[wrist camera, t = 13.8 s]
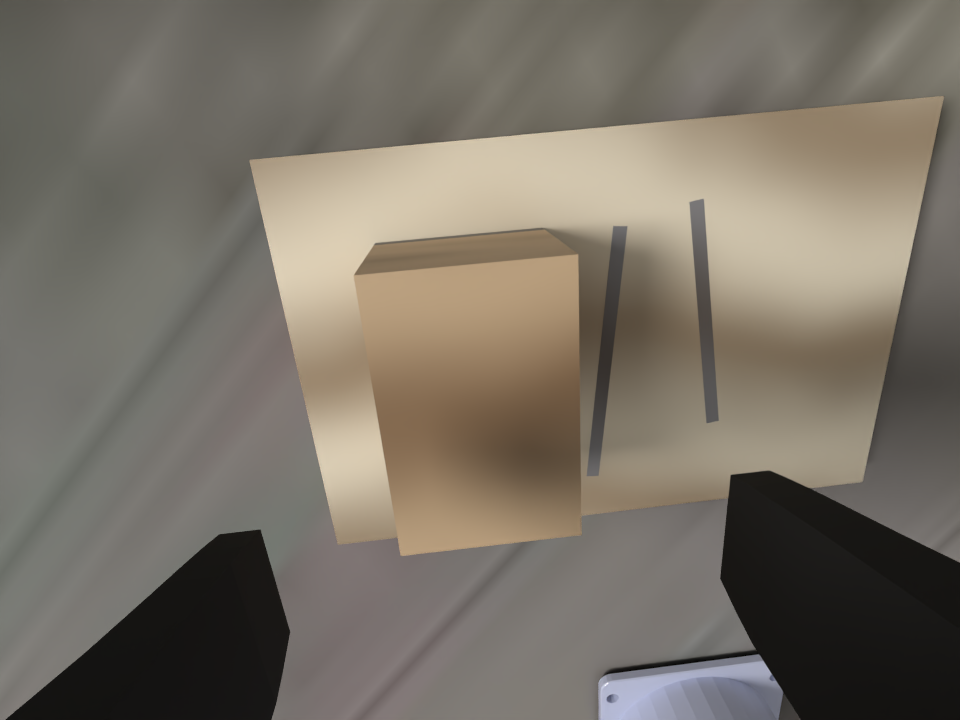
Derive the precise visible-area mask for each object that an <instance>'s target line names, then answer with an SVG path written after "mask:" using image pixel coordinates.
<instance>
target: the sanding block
mask: <svg viewBox="0 0 960 720" xmlns="http://www.w3.org/2000/svg"><path fill="white" fill-rule="evenodd" d="M353 276H354V282H355V287H356V293H357V299H358V305H359V311H360V317H361V323H362V329H363V335H364V341H365V347H366V353H367V358H368V364H369V370H370V376H371V382H372V388H373V394H374V400H375V406H376V412H377V418H378V423H379V429H380V435H381V441H382V447H383V453H384V459H385V465H386V471H387V477H388V483H389V489H390V494H391V500H392V506H393V512H394V518H395V524H396V530H397V536H398V542H399V548H400V554H401V556H404V555H413V554H422V553H430V552H439V551H448V550H456V549H465V548H473V547H482V546H491V545H499V544H508V543H517V542H525V541H534V540H543V539H551V538H560V537H569V536H577V535H582V530H581V444H580V358H579V272H578V254H577V253H576V252H575V251H573V250H572V249H570V248H569V247H568V246H566V245H565V244H564V243H562V242H561V241H560V240H558V239H557V238H556V237H554V236H553V235H551V234H550V233H549V232H547V231H546V230H545V229H543V228H532V229H522V230H511V231H500V232H489V233H478V234H467V235H456V236H446V237H435V238H424V239H413V240H402V241H391V242H380V243H375V244H374V246H373V247H372V249H371V250H370V252H369V253H368V255H367V256H366V258H365V259H364V261H363V262H362V263H361V265H360V266H359V268H358V269H357V271H356V272H355V274H354V275H353Z"/></svg>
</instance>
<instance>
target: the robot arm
mask: <svg viewBox="0 0 960 720" xmlns="http://www.w3.org/2000/svg"><path fill="white" fill-rule="evenodd" d="M720 579H721V581H722V583H723V585H724V587H725V589H726V592H727V594H728V596H729V598H730V600H731V602H732V604H733V606H734V608H735V610H736V613H737V615H738V616H739V618H740V620H741V622H742V624H743V626H744V628H745V630H746V632H747V634H748V636H749V638H750V640H751V642H752V644H753V645H754V647H755V648H756V650H757V652H758V653H759V654H757V655H749V656H742V657H734V658H727V659H719V660H711V661H704V662H696V663H688V664H681V665H673V666H666V667H658V668H650V669H643V670H635V671H627V672H620V673H612V674H607V675H605V676H603V677H602V678H601V679H600V680H599V684H598V697H599V720H778V719H779V714H780V708H781V702H782V697H783V692H784V694H785V695H786V697H787V699H788V700H789V702H790V703H791V705H792V706H793V708H794V709H795V711H796V712H797V714H798V715H799V717H800V718H801V720H960V563H959V562H957V561H955V560H953V559H951V558H949V557H947V556H945V555H943V554H941V553H938V552H936V551H934V550H932V549H930V548H928V547H926V546H924V545H922V544H920V543H918V542H916V541H914V540H912V539H910V538H908V537H906V536H904V535H902V534H900V533H898V532H896V531H894V530H892V529H890V528H888V527H886V526H884V525H882V524H880V523H878V522H876V521H874V520H872V519H870V518H868V517H866V516H864V515H862V514H860V513H858V512H856V511H854V510H852V509H850V508H848V507H846V506H844V505H842V504H840V503H838V502H836V501H834V500H832V499H830V498H828V497H826V496H824V495H822V494H820V493H818V492H816V491H814V490H812V489H810V488H808V487H805V486H803V485H801V484H799V483H797V482H795V481H793V480H791V479H788V478H786V477H784V476H782V475H779V474H777V473H775V472H772V471H770V470H768V471H759V472H750V473H742V474H733V475H731V476H730V486H729V496H728V506H727V516H726V526H725V536H724V547H723V557H722V567H721V577H720ZM289 635H290V630H289V627H288V623H287V620H286V616H285V613H284V609H283V606H282V602H281V599H280V596H279V592H278V589H277V585H276V582H275V578H274V575H273V571H272V568H271V565H270V561H269V558H268V554H267V551H266V547H265V544H264V540H263V537H262V534H261V530H253V531H244V532H236V533H227V534H219V535H218V536H217V537H216V538H214V539H213V540H212V541H211V542H209V543H208V544H207V545H206V546H205V547H203V548H202V549H201V550H200V551H199V552H198V553H196V554H195V555H194V556H193V557H192V558H191V559H190V560H188V561H187V562H186V563H185V564H184V565H183V566H182V567H181V568H179V569H178V570H177V571H176V572H175V573H174V574H173V575H172V576H171V577H169V578H168V579H167V580H166V581H165V582H164V583H163V584H162V585H161V586H160V587H158V588H157V589H156V590H155V591H154V592H153V593H152V594H151V595H150V596H148V597H147V598H146V599H145V600H144V601H143V602H142V603H141V604H139V605H138V606H137V607H136V608H135V609H134V610H133V611H132V612H130V613H129V614H128V615H127V616H126V617H125V618H124V619H123V620H122V621H120V622H119V623H118V624H117V625H116V626H115V627H114V628H113V629H111V630H110V631H109V632H108V633H107V634H106V635H105V636H104V637H102V638H101V639H100V640H99V641H98V642H97V643H96V644H95V645H93V646H92V647H91V648H90V649H89V650H88V651H87V652H85V653H84V654H83V655H82V656H81V657H80V658H78V659H77V660H76V661H75V662H74V663H73V664H71V665H70V666H69V667H68V668H67V669H65V670H64V671H63V672H62V673H61V674H59V675H58V676H57V677H56V678H55V679H53V680H52V681H51V682H50V683H49V684H47V685H46V686H45V687H44V688H43V689H41V690H40V691H39V692H38V693H37V694H35V695H34V696H33V697H32V698H31V699H30V700H28V701H27V702H26V703H25V704H24V705H22V706H21V707H20V708H19V709H18V710H16V711H15V712H14V713H13V714H12V715H10V716H9V717H8V718H7V719H6V720H271V719H272V716H273V712H274V709H275V706H276V702H277V697H278V692H279V687H280V682H281V677H282V673H283V668H284V662H285V657H286V651H287V646H288V640H289Z"/></svg>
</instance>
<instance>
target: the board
mask: <svg viewBox="0 0 960 720" xmlns="http://www.w3.org/2000/svg"><path fill="white" fill-rule="evenodd" d="M943 99H944V96H938V97H928V98H917V99H906V100H895V101H884V102H873V103H863V104H852V105H841V106H830V107H819V108H808V109H797V110H787V111H776V112H765V113H754V114H743V115H732V116H722V117H711V118H700V119H689V120H678V121H667V122H656V123H646V124H635V125H624V126H613V127H602V128H591V129H580V130H570V131H559V132H548V133H537V134H526V135H515V136H505V137H494V138H483V139H472V140H461V141H450V142H439V143H429V144H418V145H407V146H396V147H385V148H374V149H364V150H353V151H342V152H331V153H320V154H309V155H298V156H288V157H277V158H266V159H255V160H249V161H250V165H251V169H252V174H253V178H254V182H255V187H256V191H257V195H258V200H259V204H260V208H261V213H262V217H263V221H264V226H265V230H266V234H267V239H268V243H269V247H270V252H271V256H272V260H273V265H274V269H275V273H276V278H277V282H278V287H279V291H280V295H281V300H282V304H283V308H284V313H285V317H286V321H287V326H288V330H289V334H290V339H291V343H292V347H293V352H294V356H295V360H296V365H297V369H298V373H299V378H300V382H301V386H302V391H303V395H304V399H305V404H306V408H307V412H308V417H309V421H310V426H311V430H312V434H313V439H314V443H315V447H316V452H317V456H318V460H319V465H320V469H321V473H322V478H323V482H324V486H325V491H326V495H327V499H328V504H329V508H330V512H331V517H332V521H333V525H334V530H335V534H336V538H337V543H338V545H339V544H348V543H356V542H364V541H373V540H381V539H389V538H398V536H397V530H396V524H395V518H394V512H393V506H392V500H391V494H390V489H389V483H388V477H387V471H386V465H385V459H384V453H383V447H382V441H381V435H380V429H379V423H378V418H377V412H376V406H375V400H374V394H373V388H372V382H371V376H370V370H369V364H368V358H367V353H366V347H365V341H364V335H363V329H362V323H361V317H360V311H359V305H358V299H357V293H356V287H355V282H354V276H353V275H354V274H355V272H356V271H357V269H358V268H359V266H360V265H361V263H362V262H363V261H364V259H365V258H366V256H367V255H368V253H369V252H370V250H371V249H372V247H373V246H374V244H375V243H380V242H391V241H402V240H413V239H424V238H435V237H446V236H456V235H467V234H478V233H489V232H500V231H511V230H522V229H532V228H543V229H545V230H546V231H547V232H549V233H550V234H551V235H553V236H554V237H556V238H557V239H558V240H560V241H561V242H562V243H564V244H565V245H566V246H568V247H569V248H570V249H572V250H573V251H575V252H576V253H577V254H578V272H579V358H580V444H581V516H582V515H590V514H598V513H607V512H615V511H624V510H632V509H640V508H649V507H657V506H665V505H674V504H682V503H690V502H699V501H707V500H716V499H724V498H728V496H729V486H730V476H731V475H733V474H742V473H750V472H759V471H768V470H770V471H772V472H775V473H777V474H779V475H782V476H784V477H786V478H788V479H791V480H793V481H795V482H797V483H799V484H801V485H803V486H805V487H808V488H816V487H824V486H833V485H841V484H849V483H858V482H863V477H864V473H865V468H866V463H867V458H868V454H869V449H870V444H871V439H872V435H873V430H874V425H875V420H876V416H877V411H878V406H879V402H880V397H881V392H882V387H883V383H884V378H885V373H886V368H887V364H888V359H889V354H890V350H891V345H892V340H893V335H894V331H895V326H896V321H897V316H898V312H899V307H900V302H901V297H902V293H903V288H904V283H905V279H906V274H907V269H908V264H909V260H910V255H911V250H912V245H913V241H914V236H915V231H916V226H917V222H918V217H919V212H920V208H921V203H922V198H923V193H924V189H925V184H926V179H927V174H928V170H929V165H930V160H931V156H932V151H933V146H934V141H935V137H936V132H937V127H938V122H939V118H940V113H941V108H942V103H943Z"/></svg>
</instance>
